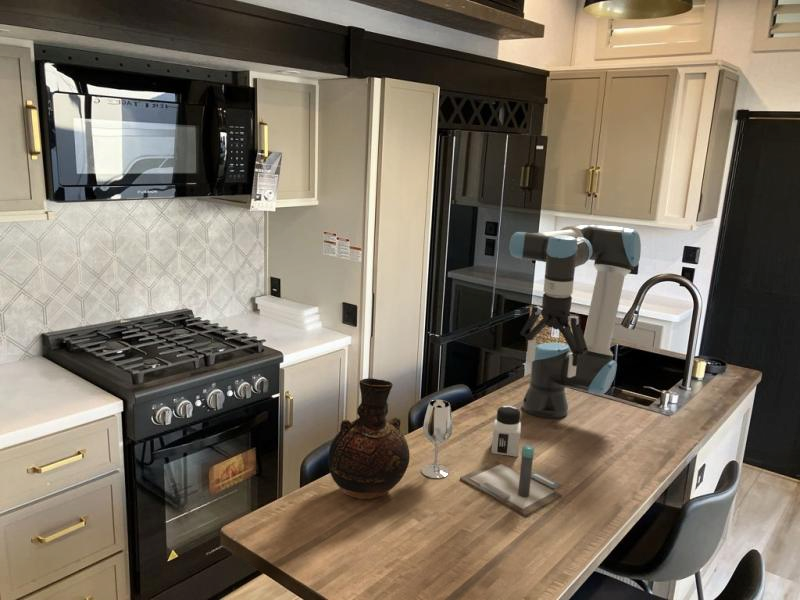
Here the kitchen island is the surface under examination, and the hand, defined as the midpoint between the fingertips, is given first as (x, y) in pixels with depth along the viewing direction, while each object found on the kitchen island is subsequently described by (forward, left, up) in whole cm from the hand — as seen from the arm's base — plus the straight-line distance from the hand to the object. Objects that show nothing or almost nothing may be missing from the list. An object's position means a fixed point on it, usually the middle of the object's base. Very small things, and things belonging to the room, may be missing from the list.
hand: (550, 368), depth 178 cm
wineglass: (+28, -14, -28) cm, 42 cm away
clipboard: (+18, +4, -28) cm, 34 cm away
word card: (+8, +7, -28) cm, 30 cm away
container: (+2, -11, -28) cm, 31 cm away
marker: (+19, +9, -27) cm, 35 cm away
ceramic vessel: (+49, -17, -28) cm, 59 cm away
